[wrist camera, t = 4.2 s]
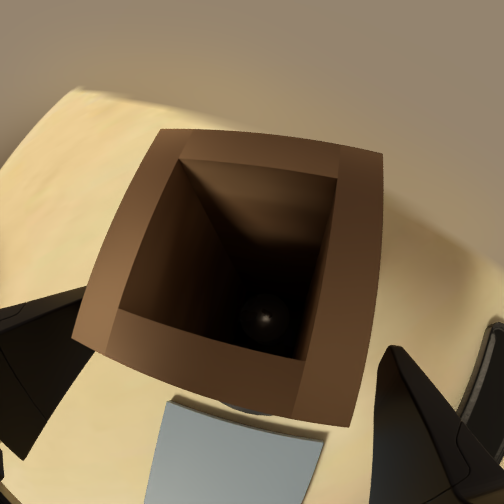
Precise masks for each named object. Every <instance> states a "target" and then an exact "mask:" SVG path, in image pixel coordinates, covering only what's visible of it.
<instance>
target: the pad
mask: <svg viewBox="0 0 504 504" xmlns="http://www.w3.org/2000/svg"><path fill="white" fill-rule="evenodd" d="M323 443H324V442H323V440H317V439H311V438H305V437H299V436H293V435H288V434H283V433H278V432H273V431H269V430H264V429H260V428H256V427H252V426H248V425H244V424H240V423H237V422H233V421H230V420H226V419H223V418H220V417H216V416H213V415H210V414H207V413H204V412H201V411H198V410H195V409H192V408H189V407H187V406H184V405H181V404H178V403H176V402H173V401H171V400H170V401H167V403H166V407H165V411H164V415H163V419H162V423H161V427H160V431H159V436H158V440H157V444H156V448H155V453H154V457H153V462H152V466H151V471H150V476H149V480H148V485H147V490H146V495H145V500H144V504H301V503H302V500H303V498H304V496H305V493H306V491H307V488H308V486H309V483H310V480H311V478H312V475H313V472H314V470H315V467H316V464H317V461H318V458H319V455H320V452H321V449H322V446H323Z"/></svg>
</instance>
